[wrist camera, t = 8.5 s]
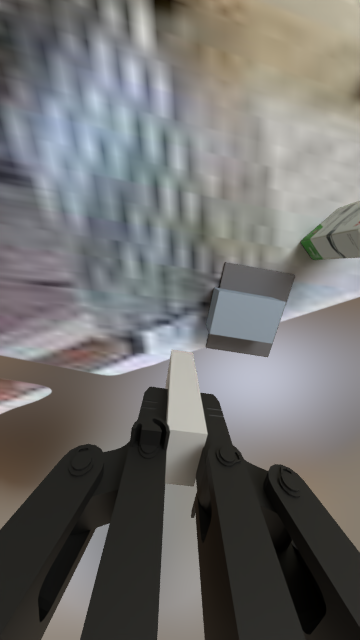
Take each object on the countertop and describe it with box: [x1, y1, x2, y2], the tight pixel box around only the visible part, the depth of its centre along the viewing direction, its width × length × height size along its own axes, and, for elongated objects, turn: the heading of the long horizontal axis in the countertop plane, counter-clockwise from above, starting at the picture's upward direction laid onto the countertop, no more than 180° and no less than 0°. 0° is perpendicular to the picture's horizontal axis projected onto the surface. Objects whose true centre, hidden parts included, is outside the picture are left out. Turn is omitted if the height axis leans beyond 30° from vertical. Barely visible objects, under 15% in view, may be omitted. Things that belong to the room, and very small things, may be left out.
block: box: [206, 287, 286, 344], centre depth 36 cm, size 5×8×12 cm
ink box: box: [301, 201, 360, 260], centre depth 29 cm, size 9×5×12 cm, turn 132°
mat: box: [206, 262, 295, 357], centre depth 39 cm, size 14×18×1 cm
